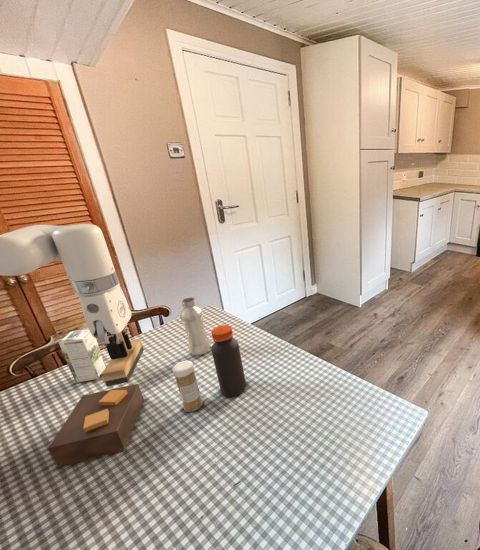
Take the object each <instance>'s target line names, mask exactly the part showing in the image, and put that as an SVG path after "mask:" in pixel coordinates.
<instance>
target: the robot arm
mask: <svg viewBox="0 0 480 550" xmlns="http://www.w3.org/2000/svg"><path fill="white" fill-rule="evenodd" d="M59 260H61V262H62V265H63V268H64V270H65V273H66V275H67V278H68V280H69V282H70V285H71V288H72V290H73V292H74V293H73V294H74V295H75V296H77V297H78V300H79V303H80V307H81V311H82V314H83V317H84V321H85V323H86V326H87V330H89V331H90V333H91V335H92V336H93V337H95V338H96V339H97V343H98V345H99V346H102V345H103V346H104V347H105V348H106V350H107V353H108V356H109V358H110V360H111V359H118V358H123V357H127V355H128V353H127V350H126V347H125V345H124V342H123V341H121V339H120V336H119V333H120V332H122V335H123V338H124V341H125V344H126V346H127V349H128V350H129V349H131V348H132V345H131V342H130V341H131V340H130V336H129V334H128V329H127V325H128V323H129V322H130V320H131V318H132V310H131V308H130V305H129V302H128V300H127V298H126V296H125V293H124V291H123V289H122V287H121V285H120V281H119V278H118V274H117V272H116V268H115V265H114V263H113V260H112V257H111V254H110V251H109V248H108V245H107V242H106V239H105V236H104V234H103V231H102V229H101V228H100V227H99V226H98V225H95V224H92V223H91V224H90V223H81V224H79V223H78V224H70V225H56V224H55V225H54V224H33V225H29V226H28V225H27V226H25V227H22V228H18V229H15V230H12V231H8V232H5V233H2V234H0V276H2V277H7V276H8V277H17V276H23V275H27V274H30V273H32V272H35V271H36V270H38V269H40V268H42V267H44V266H46V265H48V264H50V263H53V262H56V261H59ZM111 335H114V338H113V337H109V336H111Z"/></svg>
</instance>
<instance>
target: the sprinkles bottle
mask: <svg viewBox="0 0 480 550" xmlns="http://www.w3.org/2000/svg"><path fill="white" fill-rule="evenodd" d="M171 370H172V375H173V376H174V378H175V382H176V384H177V388H178V392H179V396H180V399H181V402H182V405H183V410H184V411H185V412H187V413H190V412H195V411H198V410H199V409H200V408H201V407H202V406H203V402H204V401H203V399H202V396H201V391H200V387H199V384H198V380H197V377H196V374H195V367H194V364H193V362H192V361H191V360H183V361H179V362H177V363H176V364H174V366H172V369H171Z"/></svg>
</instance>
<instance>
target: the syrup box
mask: <svg viewBox="0 0 480 550" xmlns="http://www.w3.org/2000/svg"><path fill="white" fill-rule="evenodd" d="M58 345H59V347H60V349H61V352H62V355H63V357H64V359H65V361H66V364H67V366H68V368H69V370H70V373H71V376H72V378H73V380H74V382H75V384H77V383H83V382H88V381H94V380H99V379H100V377H101V376H102V373H103V372H104V370H105V368H106V367H107V364H106V362H105V359H104V356H103V353H102V351H101V348H100V345H99V344H98V339H97V338H95V337H93V336H92V335H91V333H90V331H89V329H79V330H73V331H70V332H69V333H67V334H66V335H65V336H64V337H63V338H62V339H61V340H59V342H58Z"/></svg>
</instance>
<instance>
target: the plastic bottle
mask: <svg viewBox="0 0 480 550" xmlns="http://www.w3.org/2000/svg"><path fill="white" fill-rule="evenodd" d="M181 306H182V308H183V309H182V310H181V313H180V316H179V318H180V321H181V324H182V325H183V327H184V330H185V332H186V335H187V342H188V344H187V345H188V347H187V348H188V351H189V353H190V354H191V355H193V356H202V355H204V354H207V353H208V352H209V351H210V350H211V341H210V339H209V336H208V334H207V331H206V328H205V323H204V312H203V310H202V308H200V307H199V306H198V305H197V301H196V299H195V297H186V298H183V299H182V300H181Z"/></svg>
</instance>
